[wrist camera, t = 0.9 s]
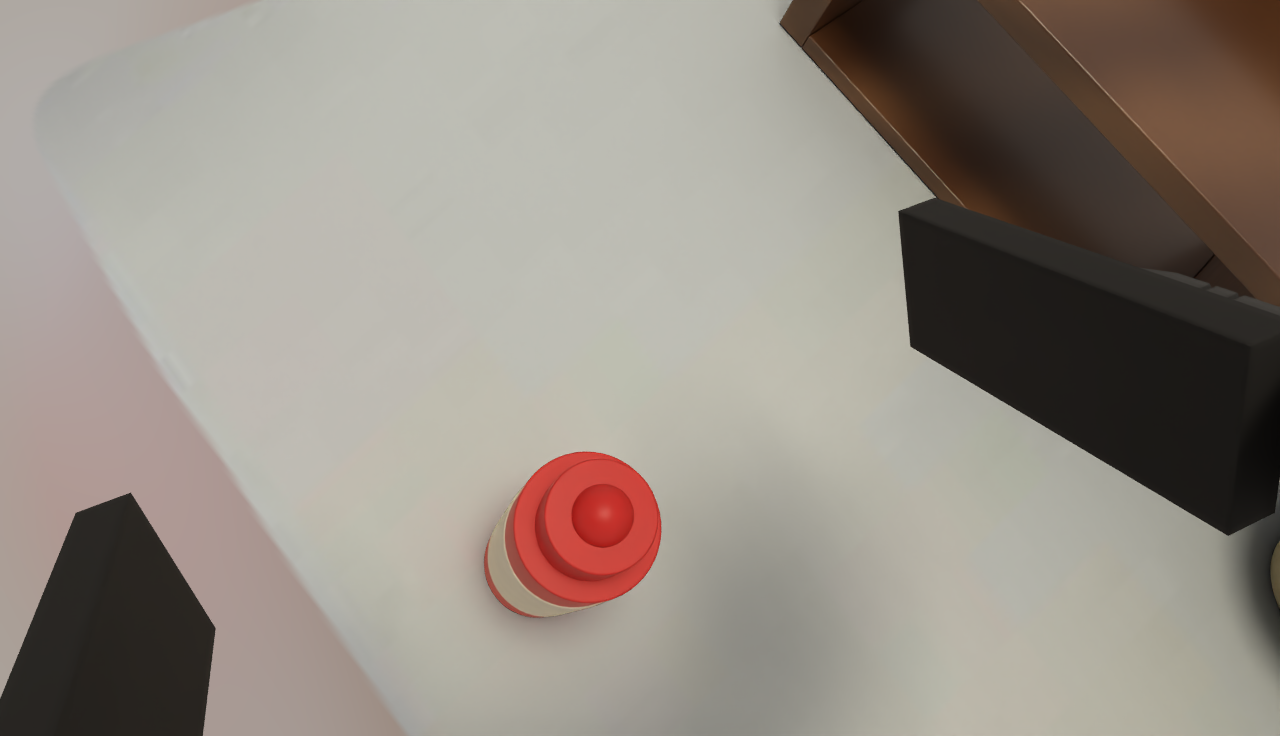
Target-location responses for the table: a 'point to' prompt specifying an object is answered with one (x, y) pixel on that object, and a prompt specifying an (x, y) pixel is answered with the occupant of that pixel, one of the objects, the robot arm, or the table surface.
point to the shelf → (1081, 118)
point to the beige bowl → (1276, 573)
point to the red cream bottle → (573, 537)
